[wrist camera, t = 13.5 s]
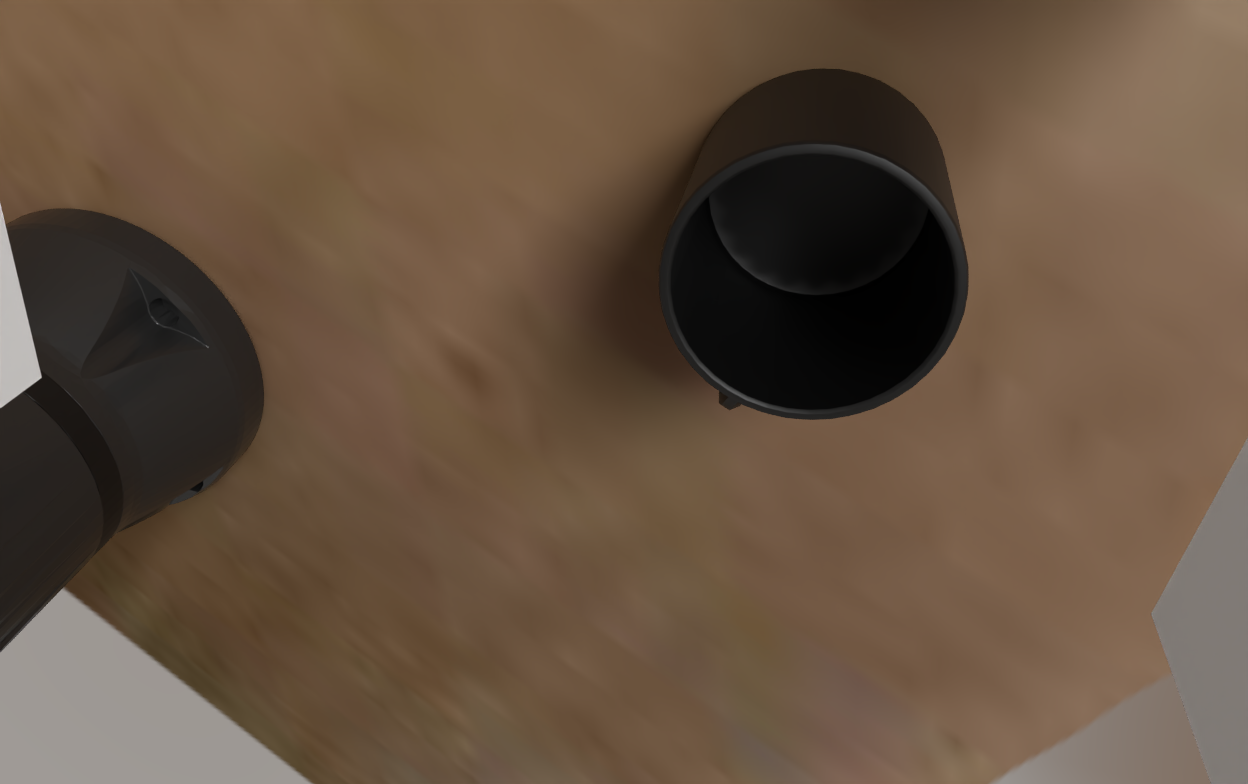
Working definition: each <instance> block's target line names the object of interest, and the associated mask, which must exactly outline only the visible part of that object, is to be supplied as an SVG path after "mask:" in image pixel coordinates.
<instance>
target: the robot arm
mask: <svg viewBox="0 0 1248 784" xmlns="http://www.w3.org/2000/svg"><path fill="white" fill-rule="evenodd" d="M263 400H264V392H263V381H262V374H261V370H260V365H259V362H258V358H257V355H256V352H255V349H254V347H253V344H252V342H251V340H250V337H249V335H248V333H247V331H246V329H245V327H244V325H243V323H242V322H241V320H240V318H239V317H238V315H237V313H236V312H235V310H234V309H233V308H232V306H231V305H230V303H229V302H228V300H227V299H226V298H225V297H224V295H223V294H222V293H221V291H220V290H219V289H218V288H217V287H216V286H215V285H214V283H213V282H212V281H211V280H210V279H209V278H208V277H207V276H206V275H205V274H204V273H203V272H202V271H201V270H200V269H199V268H198V267H197V266H196V265H194V264H193V263H192V262H191V261H190V260H189V259H187V258H186V257H185V256H184V255H183V254H181V253H180V252H179V251H177V250H176V249H174V248H173V247H172V246H170V245H169V244H167V243H166V242H164V241H163V240H161V239H159V238H158V237H156V236H154V235H153V234H151V233H149V232H147V231H145V230H143V229H141V228H139V227H137V226H135V225H133V224H130V223H128V222H126V221H123V220H120V219H118V218H115V217H112V216H108V215H105V214H101V213H97V212H92V211H86V210H80V209H48V210H42V211H37V212H34V213H30V214H27V215H24V216H22V217H19V218H18V219H16V220H14V221H12V222H10V223H8V224H6V225H5V221H4V217H3V213H2V209H1V205H0V652H1V651H2V650H3V649H4V648H5V647H6V646H7V645H8V644H9V643H10V642H11V641H12V640H13V639H14V638H15V637H16V636H17V635H18V634H19V633H20V632H21V631H22V629H23V628H24V627H25V626H26V625H27V624H28V623H29V622H30V621H31V620H32V619H33V618H34V617H35V616H36V615H37V614H38V613H39V612H40V611H41V610H42V609H43V608H44V607H45V606H46V605H47V604H48V602H50V601H51V599H52V598H53V597H54V596H55V595H56V594H57V593H58V592H59V591H60V590H61V589H62V588H63V587H64V586H65V585H66V584H67V583H68V582H69V581H70V580H71V579H72V578H73V577H74V576H75V575H76V574H77V573H78V572H79V570H80V569H81V568H82V567H83V566H84V565H85V564H86V563H87V562H88V561H89V560H90V559H91V558H92V557H93V556H94V555H95V554H96V553H97V552H98V551H99V550H100V549H101V548H102V547H103V546H104V545H105V544H106V543H107V542H108V540H109V539H110V538H111V537H112V536H113V535H115V534H116V533H118V532H120V531H122V530H124V529H126V528H128V527H130V526H133V525H135V524H137V523H139V522H141V521H143V520H145V519H147V518H149V517H151V516H152V515H154V514H156V513H158V512H159V511H161V510H163V509H164V508H166V507H167V506H168V505H170V504H175V503H178V502H181V501H184V500H186V499H188V498H191V497H193V496H195V495H197V494H199V493H201V492H202V491H204V490H206V489H207V488H209V487H210V486H211V485H213V484H214V483H215V482H217V481H218V480H219V479H220V478H221V477H222V476H223V475H224V474H225V473H226V472H227V471H228V470H229V468H230V467H231V466H232V465H233V464H234V463H235V462H236V461H237V460H238V459H239V457H240V456H241V455H242V454H243V453H244V452H245V451H246V450H247V448H248V447H249V445H250V444H251V442H252V441H253V439H254V437H255V435H256V433H257V430H258V428H259V425H260V421H261V417H262V412H263ZM1151 615H1152V618H1153V621H1154V623H1155V626H1156V629H1157V632H1158V635H1159V638H1160V640H1161V643H1162V646H1163V649H1164V652H1165V655H1166V658H1167V660H1168V663H1169V666H1170V669H1171V672H1172V675H1173V677H1174V680H1175V683H1176V686H1177V689H1178V692H1179V694H1180V697H1181V700H1182V703H1183V706H1184V709H1185V711H1186V714H1187V717H1188V720H1189V723H1190V726H1191V728H1192V731H1193V734H1194V737H1195V740H1196V742H1197V745H1198V748H1199V751H1200V754H1201V757H1202V760H1203V763H1204V765H1205V768H1206V771H1207V774H1208V777H1209V779H1210V782H1211V784H1248V438H1247V440H1246V442H1245V444H1244V445H1243V447H1242V449H1241V451H1240V453H1239V454H1238V456H1237V458H1236V460H1235V462H1234V464H1233V465H1232V467H1231V469H1230V471H1229V473H1228V475H1227V476H1226V478H1225V480H1224V482H1223V484H1222V485H1221V487H1220V489H1219V491H1218V493H1217V495H1216V496H1215V498H1214V500H1213V502H1212V504H1211V506H1210V507H1209V509H1208V511H1207V513H1206V515H1205V516H1204V518H1203V520H1202V522H1201V524H1200V526H1199V527H1198V529H1197V531H1196V533H1195V535H1194V537H1193V538H1192V540H1191V542H1190V544H1189V546H1188V547H1187V549H1186V551H1185V553H1184V555H1183V557H1182V558H1181V560H1180V562H1179V564H1178V566H1177V568H1176V569H1175V571H1174V573H1173V575H1172V577H1171V578H1170V580H1169V582H1168V584H1167V586H1166V588H1165V589H1164V591H1163V593H1162V595H1161V597H1160V599H1159V600H1158V602H1157V604H1156V606H1155V608H1154V609H1153V611H1152V613H1151Z"/></svg>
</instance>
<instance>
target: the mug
mask: <svg viewBox="0 0 1248 784" xmlns="http://www.w3.org/2000/svg"><path fill="white" fill-rule="evenodd" d="M659 294H660V300H661V307H662V312H663V315H664V318H665V321H666V323H667V326H668V329H669V331H670V334H671V336H672V338H673V339H674V341H675V343H676V345H677V347H678V349H679V351H680V352H681V353H682V355H683V356H684V357H685V359H686V360H687V361H688V363H689V364H690V365H691V366H692V367H693V368H694V370H695V371H696V372H697V373H698V374H699V375H700V376H701V377H702V378H703V379H704V380H706V381H707V382H708V383H709V384H710V385H712V386H713V387H714V388H716V389H717V390H719V403H720V404H721V405H722V406H724V407H725V408H727V409H729V410H731V409H733V408H736V407H738V406H740V405H741V404H742V405H745V406H747V407H750V408H753V409H755V410H758V411H761V412H764V413H768V414H772V415H776V416H781V417H785V418H794V419H808V420H815V419H833V418H839V417H845V416H850V415H854V414H858V413H861V412H864V411H868V410H871V409H874V408H876V407H878V406H880V405H883V404H885V403H887V402H889V401H891V400H893V399H895V398H896V397H898V396H900V395H901V394H903V393H904V392H906V391H907V390H909V389H910V388H912V387H913V386H914V385H916V384H917V383H918V382H919V381H920V380H921V379H922V378H923V377H925V376H926V375H927V374H928V373H929V372H930V371H931V370H932V369H933V367H934V366H935V365H936V364H937V363H938V361H939V360H940V359H941V358H942V357H943V355H944V354H945V353H946V351H947V349H948V347H949V346H950V344H951V342H952V340H953V339H954V337H955V335H956V333H957V331H958V328H959V325H960V323H961V320H962V317H963V315H964V311H965V306H966V300H967V295H968V262H967V257H966V251H965V246H964V242H963V238H962V233H961V229H960V225H959V220H958V216H957V211H956V207H955V203H954V198H953V194H952V190H951V185H950V181H949V177H948V172H947V168H946V164H945V159H944V156H943V152H942V149H941V146H940V144H939V141H938V138H937V136H936V134H935V133H934V131H933V129H932V128H931V126H930V124H929V122H928V121H927V120H926V118H925V117H924V116H923V114H922V113H921V112H920V111H919V110H918V109H917V107H916V106H915V105H914V104H913V103H912V102H910V101H909V100H908V99H907V98H906V97H904V96H903V95H902V94H901V93H899V92H898V91H896V90H895V89H893V88H892V87H890V86H888V85H886V84H885V83H883V82H881V81H879V80H877V79H874V78H871V77H869V76H866V75H863V74H859V73H856V72H850V71H845V70H840V69H811V70H803V71H796V72H793V73H789V74H786V75H782V76H779V77H777V78H774V79H772V80H770V81H767V82H765V83H763V84H761V85H759V86H757V87H756V88H754V89H753V90H751V91H750V92H748V93H747V94H745V95H744V96H742V97H741V98H740V99H739V100H737V101H736V102H735V103H734V104H733V105H732V106H731V107H730V108H729V109H728V110H727V111H726V112H725V113H724V114H723V116H722V117H721V118H720V119H719V121H718V122H717V123H716V125H715V126H714V128H713V129H712V131H711V132H710V134H709V136H708V138H707V140H706V141H705V143H704V146H703V148H702V150H701V153H700V155H699V158H698V160H697V163H696V165H695V167H694V170H693V172H692V175H691V177H690V180H689V182H688V184H687V187H686V189H685V192H684V194H683V197H682V199H681V201H680V204H679V206H678V209H677V211H676V213H675V216H674V218H673V221H672V223H671V226H670V228H669V231H668V234H667V237H666V239H665V242H664V246H663V249H662V254H661V260H660V266H659Z"/></svg>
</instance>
